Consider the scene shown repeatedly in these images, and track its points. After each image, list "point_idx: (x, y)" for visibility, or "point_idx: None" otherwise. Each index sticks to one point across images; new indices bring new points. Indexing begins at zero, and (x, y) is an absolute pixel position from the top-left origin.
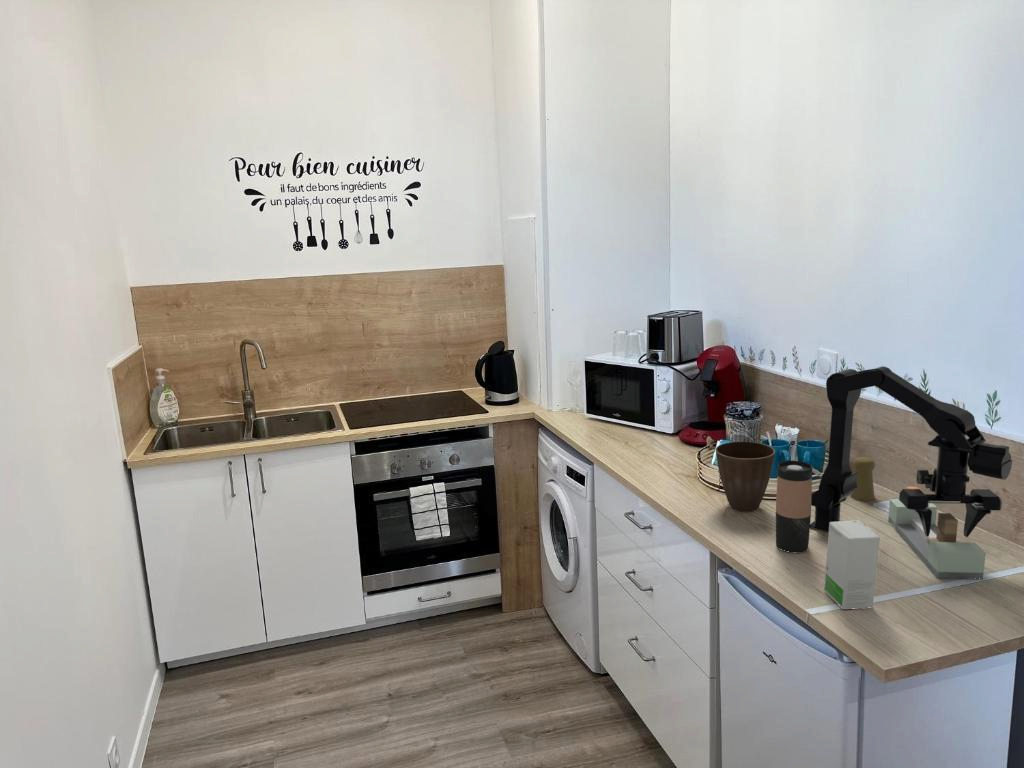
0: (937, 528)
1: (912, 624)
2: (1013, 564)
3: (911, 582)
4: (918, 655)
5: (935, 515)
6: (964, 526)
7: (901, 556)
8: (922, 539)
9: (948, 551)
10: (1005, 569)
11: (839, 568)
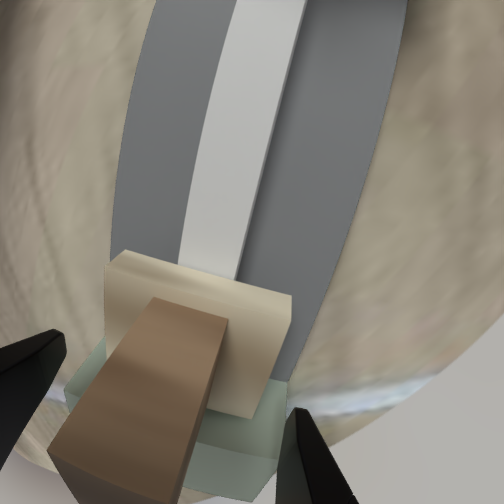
0: (118, 349)
1: (45, 442)
2: (454, 356)
3: None
4: (48, 467)
5: None
6: (297, 457)
7: (69, 201)
8: (207, 90)
9: None
10: (396, 383)
11: None
